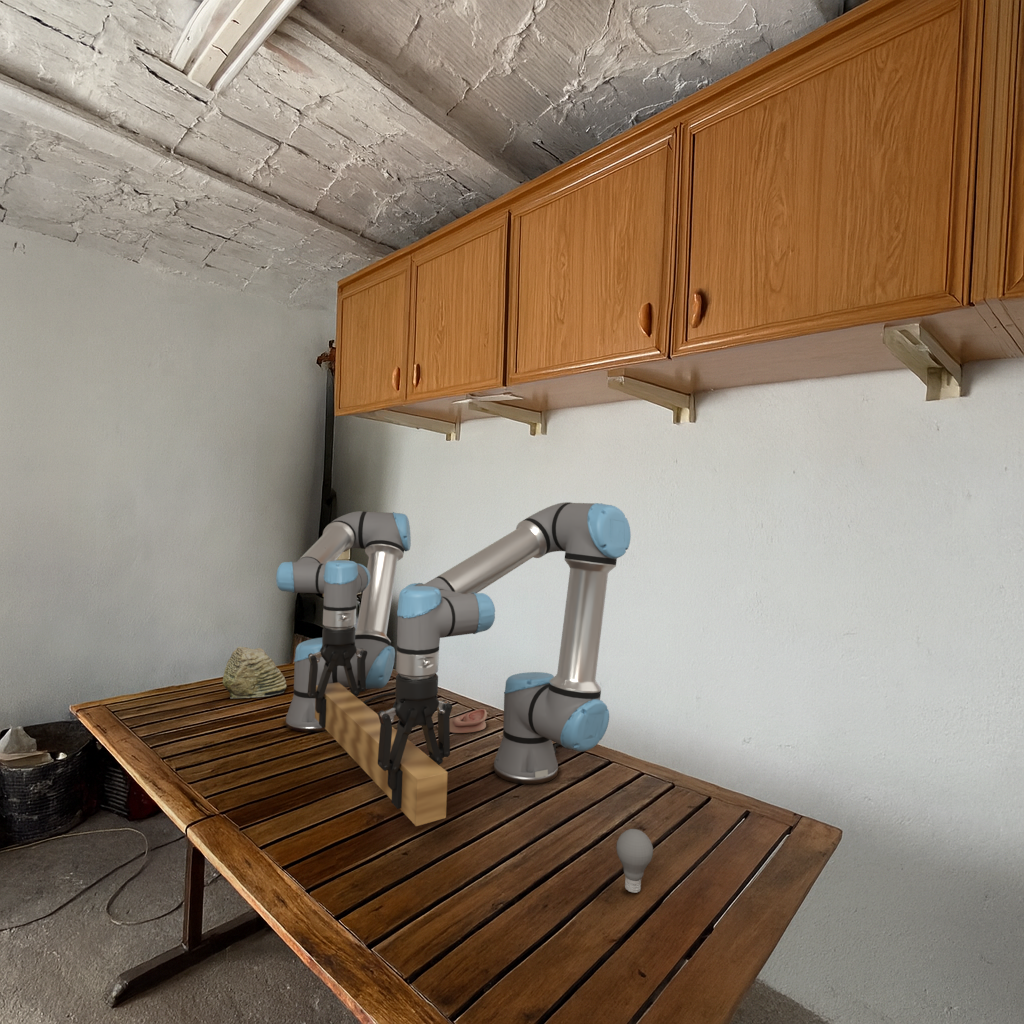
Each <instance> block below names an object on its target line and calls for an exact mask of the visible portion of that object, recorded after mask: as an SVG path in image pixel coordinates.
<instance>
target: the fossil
mask: <svg viewBox="0 0 1024 1024" xmlns="http://www.w3.org/2000/svg"><path fill="white" fill-rule="evenodd" d="M222 676H223V677H222V685H223V687H224V688H225V690H226V691H228V693H229V698H230V699H250V698H264V697H271V696H275V695H281V694H284V693H285V691H286V689H287V687H288V686H287V680H286V678H285V676H284V674H283V673H282V672H281V669H279V668H278V667H277V665H276V663H275V662H274V660H273V659H272V658H271V657H270V656H269V655H268V654H267V653H266V652H265V650H264V649H263V648H260V647H258V648H251V647H247V646H246V647H245V646H238V647H237V648H236V649H235V650H233V651H232V653H231V656H230V657H229V659H228V660H227V663H226V666H225V668H224V671H223V675H222Z"/></svg>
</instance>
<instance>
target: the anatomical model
mask: <svg viewBox="0 0 1024 1024" xmlns="http://www.w3.org/2000/svg"><path fill="white" fill-rule="evenodd" d="M449 718H450V717H449ZM487 718H488V713H487V710H486V709H485V708H479V709H475V710H472V711H468V712H465V713H463V714H460V715H457V716H454V717H451V718H450V733H452V734H453V733H454V734H465V733H467V734H468V733H474V732H479V731H482V730H485V728H487V723H486V720H487ZM436 727H437V728H438V724H437V725H436Z"/></svg>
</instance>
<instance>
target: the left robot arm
mask: <svg viewBox="0 0 1024 1024" xmlns="http://www.w3.org/2000/svg"><path fill="white" fill-rule="evenodd" d="M411 536H412V535H411V526H410V520H409V518H408V516H407V515H406V514H405V513H400V512H394V511H392V512H384V511H383V512H381V511H365V510H358V511H357V510H356V511H352V512H349V513H345V514H343V515H341V516H338V517H337V518H335V519H334V520H332V521H331V522H329V523H328V524H327V525H326V526H325V528H324V529H323V530H322V535H321V536H320V537H319V538H318V539H317V540H316V541H315V542H314V543H313V545H311V546H310V547H309V548H308V549H307V550H306V551H305V553H304V554H303V555H302V556H300V558H299V559H297V561H291V560H290V561H283V562H281V563H280V564H279V566H278V568H277V570H276V577H275V580H276V586H277V588H278V589H279V591H281V592H286V593H293V594H295V593H298V594H300V593H301V594H323V611H322V626H323V628H322V635H321V636H322V637H315V638H311V639H307V640H304V641H302V642H300V643H298V644H297V645H296V648H295V655H294V659H293V662H294V672H293V695H292V696H293V697H292V699H291V702H290V704H289V708H288V711H287V713H286V715H285V726H286V728H287V729H289V730H291V731H294V732H295V731H296V732H301V733H316V732H325V731H327V730H326V729H325V728H324V727H325V722H326V699H325V698H324V697H323V696H324V693H325V690H326V687H327V684H330V683H337V682H339V683H340V684H341V685H343V686H344V687H345V688H347V689H348V688H349V691H350V692H351V693H352V694H353V695H355V696H356V697H357V698H358V699H359V695H360V693H361V692H365V691H366V690H371V689H373V690H374V689H379V690H380V689H383V688H384V687H385V686H387V684H388V683H389V681H390V680H391V679H390V678H391V677H392V673H393V671H394V666H395V657H396V650H395V647H394V646H392V645H391V644H392V641H391V640H390V638H389V637H388V636H387V634H388V627H389V621H390V620H389V619H390V614H391V608H392V607H391V606H392V599H393V594H394V587H395V581H396V573H397V567H398V562H399V561H400V560H402V559H403V557H404V554H405V552H409V551H410V550H411V546H412V545H411V544H412V543H411V541H412V540H411V539H412V537H411ZM350 549H361V550H364V553H365V555H366V556H367V557H368V561H367V567H366V566H365V565H364V564H362V563H357V562H356V561H353V560H346V559H340V560H339V559H338V558H339V557H340V556H341V555H342V554H343V553H346V552H348V551H349V550H350ZM361 593H362V596H361V600H360V601H361V602H360V606H359V607H360V608H359V613H358V617H357V597H358V594H361ZM356 622H357V625H356ZM355 625H356V627H355ZM316 685H318V687H317V690H316ZM395 692H396V691H392V692H386V693H382V694H378V695H375V696H373V697H370V698H368V699H366V700H363V701H362V702H363V703H364V704H367V703H368V702H371V701H374V700H377V699H379V698H382V697H387V696H392V695H396V694H395ZM315 699H316V704H315ZM315 710H316V712H317V713H319V722H318V721H317V720H316V719H315Z"/></svg>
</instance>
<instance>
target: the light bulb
mask: <svg viewBox="0 0 1024 1024" xmlns="http://www.w3.org/2000/svg"><path fill="white" fill-rule="evenodd" d="M615 849H616V854H617V857H618V859H619V861H620V863H621V865H622V867H623V873H624V874H623V875H624V876H625V878H624V888H625V890H627V891H628V892H630V893H634V894H635V893H639V892H640V891H641V889H642V887H641V886H642V879H643V877H644V875H645V871H646V868H647V867H648V866H649V864H650V863H651V861H652V859H653V855H654V847H653V843H652V841H651V838H649V836H648V835H647V834H646V833H645V832H643V831H642V830H641V829H636V828H629V829H627V830H625V831H623V832H622V833H621V834H620V835H619V837H618V839H617V841H616V847H615Z"/></svg>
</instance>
